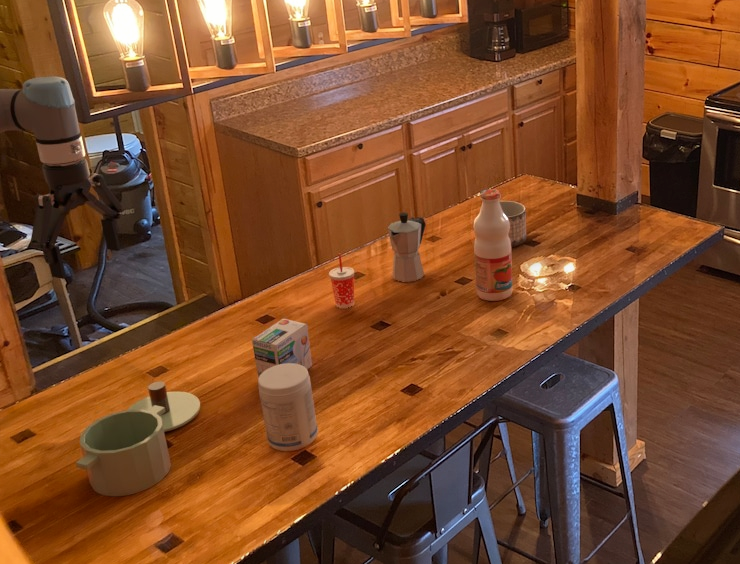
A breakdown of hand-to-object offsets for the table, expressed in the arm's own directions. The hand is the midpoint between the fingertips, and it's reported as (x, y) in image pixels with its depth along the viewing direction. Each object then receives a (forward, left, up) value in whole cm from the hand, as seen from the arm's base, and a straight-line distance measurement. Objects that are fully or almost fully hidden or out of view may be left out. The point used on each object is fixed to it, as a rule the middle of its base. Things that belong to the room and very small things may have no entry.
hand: (87, 263), depth 187 cm
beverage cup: (+21, +53, -32) cm, 65 cm away
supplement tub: (+43, 0, -32) cm, 53 cm away
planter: (+43, +102, -32) cm, 115 cm away
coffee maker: (+28, +74, -32) cm, 85 cm away
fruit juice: (+54, +71, -32) cm, 95 cm away
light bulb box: (+27, +20, -32) cm, 46 cm away
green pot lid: (+13, -2, -31) cm, 34 cm away
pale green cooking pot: (+21, -19, -32) cm, 42 cm away
